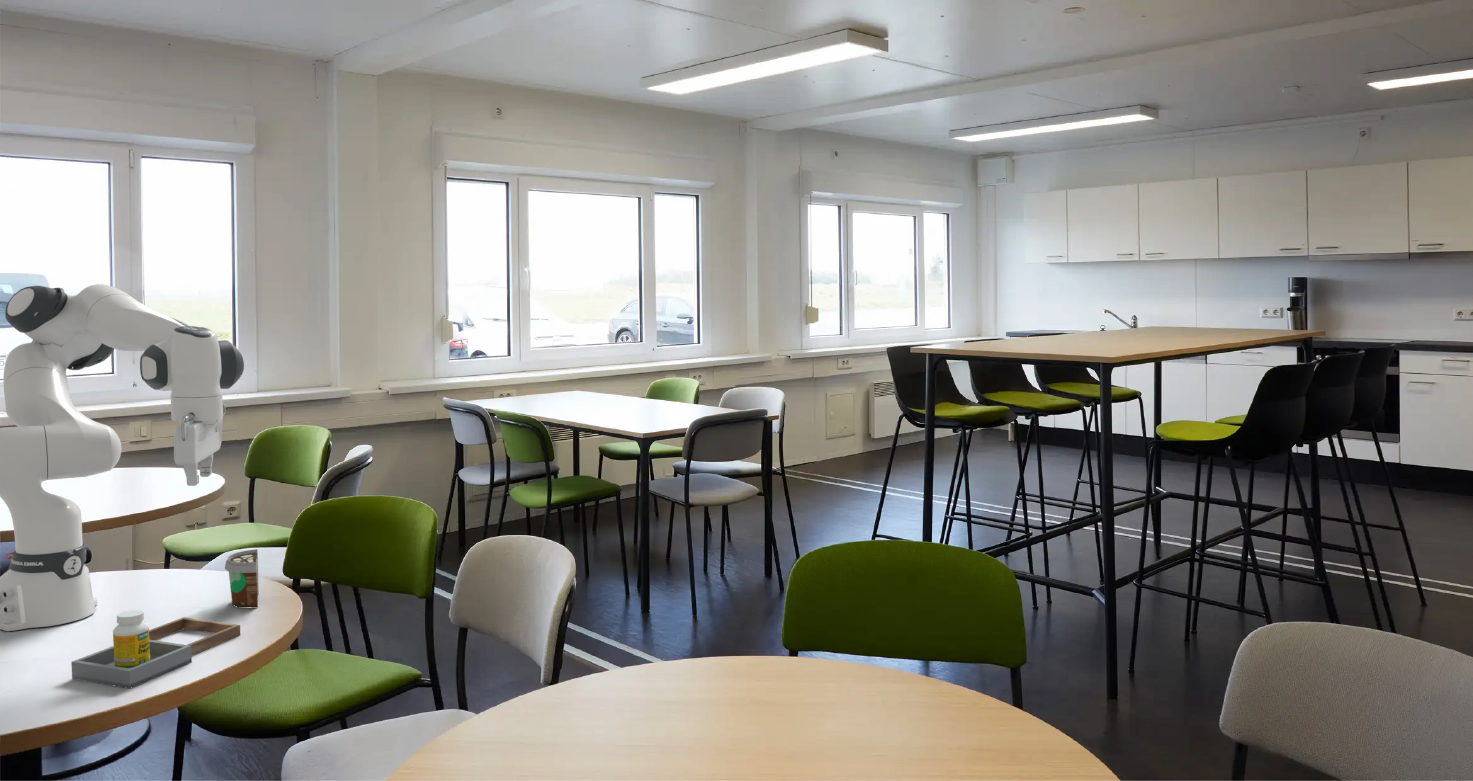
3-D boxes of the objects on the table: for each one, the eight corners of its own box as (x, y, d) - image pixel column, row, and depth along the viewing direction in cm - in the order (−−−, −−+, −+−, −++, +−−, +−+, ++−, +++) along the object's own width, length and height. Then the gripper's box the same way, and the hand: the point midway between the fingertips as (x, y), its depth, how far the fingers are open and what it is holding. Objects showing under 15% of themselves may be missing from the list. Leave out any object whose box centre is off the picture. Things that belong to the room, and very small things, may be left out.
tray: (72, 678, 167) (71, 661, 166) (136, 653, 179) (135, 637, 179) (130, 688, 163) (129, 671, 163) (191, 662, 175) (191, 645, 175)
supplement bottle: (122, 661, 173) (120, 609, 172) (155, 660, 174) (153, 607, 173) (108, 673, 168) (106, 618, 167) (142, 672, 169) (140, 617, 168)
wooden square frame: (123, 650, 180) (122, 640, 180) (184, 627, 193) (183, 617, 193) (182, 659, 176) (182, 648, 176) (240, 635, 189) (240, 625, 189)
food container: (227, 596, 213) (225, 551, 212) (258, 593, 216) (257, 548, 215) (224, 613, 202) (222, 565, 201) (257, 609, 205) (256, 562, 204)
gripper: (201, 416, 181) (203, 490, 182) (227, 404, 201) (229, 471, 202) (162, 417, 180) (165, 491, 181) (193, 405, 199) (195, 472, 200)
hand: (199, 480), depth 192 cm, fingers open, 8 cm apart
